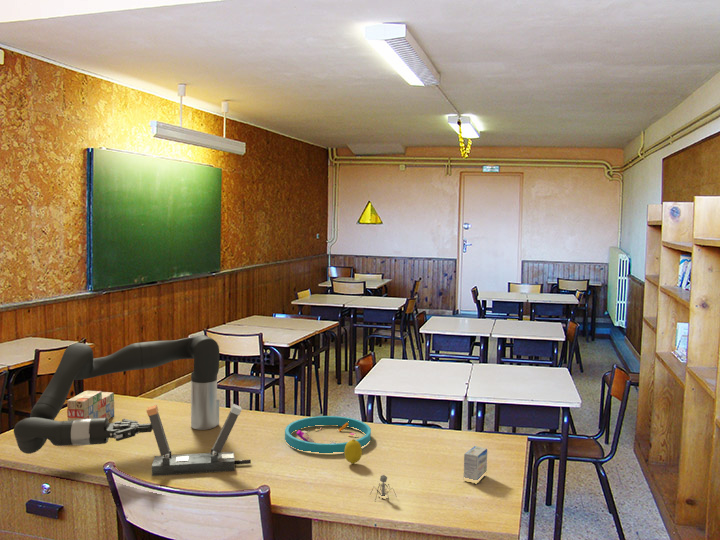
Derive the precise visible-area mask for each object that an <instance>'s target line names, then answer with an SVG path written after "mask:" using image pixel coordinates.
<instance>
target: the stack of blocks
mask: <svg viewBox="0 0 720 540" xmlns="http://www.w3.org/2000/svg"><path fill="white" fill-rule="evenodd" d="M114 395H115V393H114V392H108V391H102V390H99V391H98V390H85V391H83V392H80V393H79V394H77V395H75V396H73V397H71V398H70V399H66V400H67V401H66V405H67V409H66V413H67V415H66V416H67V421H72V420H80V419H90V418H108V420H110V419H111V417H112V418H113V417H115V397H114Z"/></svg>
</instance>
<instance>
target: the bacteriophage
mask: <svg viewBox="0 0 720 540" xmlns="http://www.w3.org/2000/svg"><path fill="white" fill-rule="evenodd" d="M379 481H381V483H378V486H377V488H375V486H373V488H372V489H371V492H370V494H369V495H371V494H372V491H373V489H375V490H376V491H377V492H376V494H375V495H376V496H375V499H374V501H375V500H377V497H378V496H377V495H378V494H379V495H381V494H382V495H381V496H385V495H387V494H389V491H388V490H387V489H389V490H390V489H391V487H390V484H389V483H387V484H386V482H387V481H388V477H387V475H385V474H381V476H380V478H379ZM379 488H380V490H379ZM392 490H393V492H394V495H395V496H397V494H396V493H395V489H394V488H392ZM380 491H381V492H380ZM387 497H388V498H387V500H388V501H390V500H389V496H387Z"/></svg>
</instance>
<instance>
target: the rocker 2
mask: <svg viewBox="0 0 720 540" xmlns="http://www.w3.org/2000/svg"><path fill="white" fill-rule="evenodd" d="M242 411H243V410H242V407H241V406H240V405H237V404H235V403H232V406H231V407H230V411H229V413H228V415H227V417H226V419H225V421H224V423H223V426H222V428H221V429H220V431H219V434H218V435H217V438H216V440H215V442H214V444H213V446H212V448H213V453H212V455H216V452H218V453H221V452H223V449H224V446H225V445H226V442H227V440H228V437H230V436H229V435H230V434H231V432H232V430H233V428H234V425H235V423H236V421H237V419H238V417H239V416H240V415H241V412H242Z"/></svg>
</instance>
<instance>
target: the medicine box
mask: <svg viewBox="0 0 720 540" xmlns="http://www.w3.org/2000/svg"><path fill="white" fill-rule="evenodd" d="M487 470H488V449H487V448H485V447H482V446H476V445H475V446H473V447H472V448H471V449H469V450H468V451H466V452H465V453H464V456H463V478H464V477H465V478H469V479H473V480H478V479H479V478H480V477H481V476H482V475H483V474H484V473H485V472H486V471H487Z"/></svg>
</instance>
